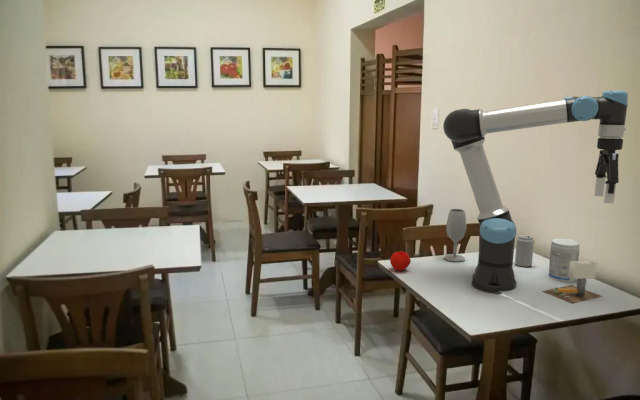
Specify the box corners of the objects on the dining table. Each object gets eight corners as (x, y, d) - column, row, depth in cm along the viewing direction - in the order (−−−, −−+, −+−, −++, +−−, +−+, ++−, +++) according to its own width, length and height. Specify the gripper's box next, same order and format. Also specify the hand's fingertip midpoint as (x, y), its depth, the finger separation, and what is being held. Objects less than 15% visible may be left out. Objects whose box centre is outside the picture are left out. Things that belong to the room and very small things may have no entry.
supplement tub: (562, 274, 197) (565, 237, 194) (582, 282, 188) (586, 243, 185) (542, 277, 193) (545, 239, 190) (561, 285, 184) (565, 246, 182)
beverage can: (533, 268, 204) (535, 238, 202) (516, 266, 205) (518, 237, 203) (530, 263, 210) (532, 234, 208) (513, 262, 211) (515, 233, 209)
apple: (405, 274, 195) (406, 256, 193) (386, 271, 199) (386, 252, 197) (413, 269, 202) (413, 250, 200) (394, 265, 205) (394, 247, 204)
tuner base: (572, 306, 165) (572, 301, 165) (541, 294, 176) (541, 289, 176) (602, 299, 172) (603, 294, 172) (571, 287, 183) (571, 283, 182)
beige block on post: (560, 295, 172) (563, 263, 170) (556, 292, 174) (559, 260, 172) (595, 295, 171) (599, 263, 169) (591, 293, 174) (595, 261, 172)
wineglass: (467, 262, 210) (470, 212, 206) (446, 262, 210) (449, 212, 206) (462, 256, 219) (465, 207, 215) (441, 256, 219) (444, 207, 215)
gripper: (634, 140, 161) (626, 206, 165) (612, 135, 184) (606, 193, 188) (607, 139, 163) (600, 205, 167) (589, 135, 186) (583, 192, 190)
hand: (603, 199), depth 178 cm, fingers open, 13 cm apart
